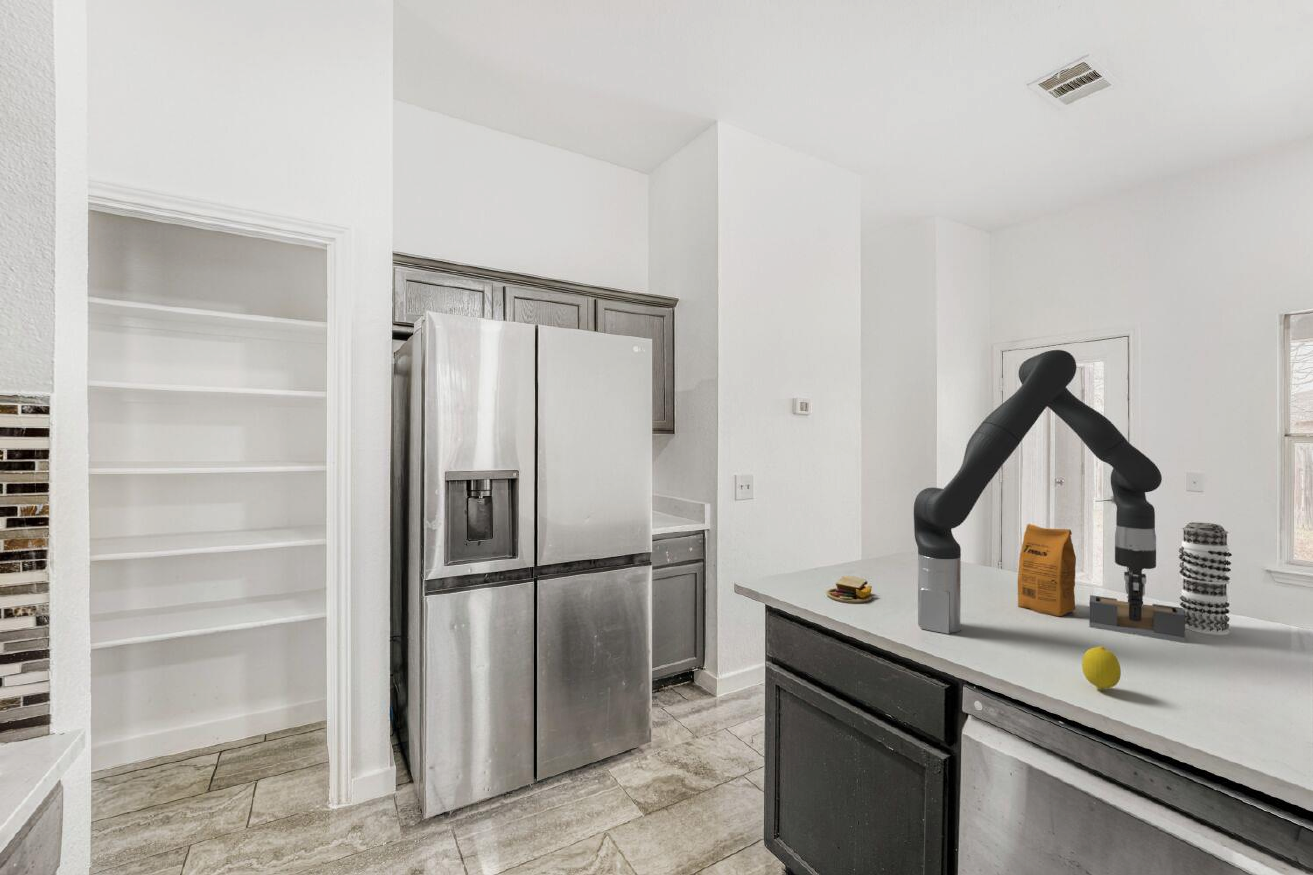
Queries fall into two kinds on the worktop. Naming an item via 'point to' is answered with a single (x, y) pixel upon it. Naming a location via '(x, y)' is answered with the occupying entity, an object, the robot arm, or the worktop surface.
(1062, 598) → the coffee package
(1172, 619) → the rail
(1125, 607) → the slat
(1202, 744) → the worktop surface
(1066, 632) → the worktop surface
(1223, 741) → the worktop surface
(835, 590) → the toy sandwich meal
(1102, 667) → the lemon
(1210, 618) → the decorative candle
